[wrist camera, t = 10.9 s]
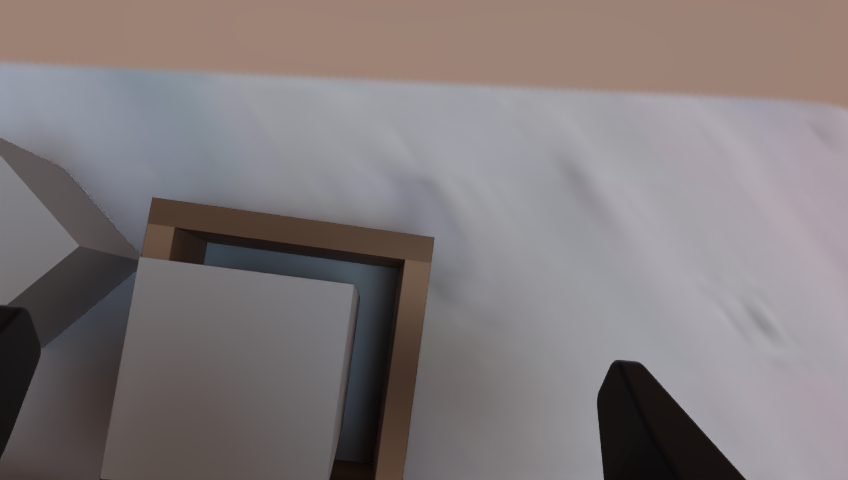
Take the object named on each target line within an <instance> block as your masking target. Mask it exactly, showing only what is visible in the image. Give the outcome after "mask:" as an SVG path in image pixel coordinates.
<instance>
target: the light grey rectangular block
mask: <svg viewBox="0 0 848 480" xmlns="http://www.w3.org/2000/svg"><path fill="white" fill-rule="evenodd" d="M359 301H360V296H359V294H358V292H357V290H356V288H355V286H354V285H353V284H345V283H338V282H330V281H322V280H315V279H307V278H299V277H291V276H284V275H276V274H268V273H260V272H253V271H245V270H237V269H230V268H222V267H214V266H206V265H199V264H191V263H183V262H175V261H168V260H160V259H152V258H144V257H139V262H138V268H137V273H136V279H135V284H134V290H133V295H132V301H131V306H130V312H129V318H128V323H127V329H126V334H125V340H124V345H123V351H122V356H121V362H120V368H119V373H118V379H117V384H116V390H115V395H114V401H113V406H112V412H111V418H110V423H109V429H108V434H107V440H106V445H105V451H104V456H103V462H102V468H101V473H100V479H109V480H329V478H330V474H331V470H332V466H333V462H334V458H335V453H336V449H337V445H338V441H339V437H340V433H341V429H342V424H343V418H344V411H345V404H346V396H347V389H348V382H349V374H350V367H351V360H352V353H353V345H354V338H355V331H356V323H357V316H358V309H359Z"/></svg>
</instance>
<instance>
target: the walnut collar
mask: <svg viewBox="0 0 848 480" xmlns="http://www.w3.org/2000/svg"><path fill="white" fill-rule="evenodd" d="M207 242H210V243H218V244H225V245H232V246H239V247H247V248H254V249H261V250H268V251H275V252H283V253H290V254H297V255H304V256H311V257H319V258H326V259H333V260H340V261H347V262H355V263H362V264H369V265H376V266H383V267H391V268H398V269H399V275H398V282H397V290H396V297H395V304H394V311H393V319H392V326H391V333H390V341H389V348H388V355H387V362H386V370H385V377H384V384H383V391H382V399H381V406H380V413H379V421H378V428H377V435H376V442H375V450H374V457H373V464H369V463H360V462H352V461H343V460H335V459H334V462H333V466H332V470H331V474H330V478H329V480H403V474H404V466H405V458H406V451H407V443H408V436H409V428H410V420H411V413H412V405H413V397H414V390H415V382H416V375H417V367H418V359H419V352H420V344H421V337H422V329H423V321H424V314H425V306H426V299H427V291H428V283H429V276H430V268H431V261H432V253H433V245H434V237H427V236H420V235H413V234H406V233H399V232H392V231H385V230H377V229H370V228H363V227H356V226H349V225H342V224H335V223H328V222H321V221H314V220H307V219H300V218H293V217H286V216H279V215H272V214H265V213H258V212H251V211H244V210H237V209H230V208H223V207H216V206H209V205H202V204H195V203H188V202H181V201H174V200H167V199H160V198H153V197H152V203H151V208H150V213H149V219H148V224H147V229H146V235H145V240H144V245H143V251H142V256H141V257H144V258H152V259H160V260H168V261H175V262H183V263H191V264H199V265H203V263H204V257H205V251H206V246H207ZM100 480H109V479H100Z"/></svg>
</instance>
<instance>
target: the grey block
mask: <svg viewBox="0 0 848 480" xmlns="http://www.w3.org/2000/svg"><path fill="white" fill-rule="evenodd" d="M139 257H141V256H140V255H139V253H138V252H137V251H136V250H135V249H134V248H133V247H132V245H131V244H130V243H129V242H128V241H127V240H126V239H125V238H124V236H123V235H122V234H121V233H120V232H119V231H118V230H117V228H116V227H115V226H114V225H113V224H112V223H111V222H110V220H109V219H108V218H107V217H106V216H105V215H104V214H103V212H102V211H101V210H100V209H99V208H98V207H97V206H96V205H95V203H94V202H93V201H92V200H91V199H90V198H89V197H88V195H87V194H86V193H85V192H84V191H83V190H82V189H81V187H80V186H79V185H78V184H77V183H76V182H75V181H74V179H73V178H72V177H71V176H70V175H69V174H68V173H67V171H66V170H65V169H63V168H61V167H59V166H57V165H55V164H53V163H51V162H49V161H47V160H45V159H43V158H41V157H39V156H37V155H35V154H32V153H30V152H28V151H26V150H24V149H22V148H20V147H18V146H16V145H14V144H12V143H10V142H8V141H6V140H4V139H2V138H0V305H11V306H22V307H25V308H26V309H27V310H28V311H29V313H30V315H31V318H32V321H33V323H34V326H35V329H36V332H37V335H38V338H39V341H40V344H41V348H44V347H45V346H46V345H47V344H48V343H50V342H51V341H52V340H53V339H54V338H56V337H57V336H58V335H59V334H60V333H62V332H63V331H64V330H65V329H67V328H68V327H69V326H70V325H71V324H73V323H74V322H75V321H76V320H77V319H79V318H80V317H81V316H82V315H83V314H85V313H86V312H87V311H88V310H89V309H91V308H92V307H93V306H94V305H95V304H97V303H98V302H99V301H100V300H102V299H103V298H104V297H105V296H106V295H108V294H109V293H110V292H111V291H112V290H114V289H115V288H116V287H117V286H118V285H120V284H121V283H122V282H123V281H124V280H126V279H127V278H128V277H129V276H130V275H132V274H133V273H134V272H135V271H136V270H137V268H138V262H139Z"/></svg>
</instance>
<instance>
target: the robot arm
mask: <svg viewBox="0 0 848 480" xmlns="http://www.w3.org/2000/svg"><path fill="white" fill-rule="evenodd" d="M40 354H41V344H40V341H39V338H38V335H37V332H36V329H35V326H34V323H33V321H32V318H31V315H30V313H29V311H28V310H27V309H26V308H25V307H22V306H11V305H0V458H1V456H2V454H3V452H4V450H5V447H6V445H7V442H8V440H9V438H10V435H11V432H12V430H13V427H14V425H15V422H16V419H17V417H18V414H19V411H20V409H21V406H22V403H23V401H24V398H25V396H26V393H27V390H28V388H29V385H30V382H31V380H32V377H33V374H34V372H35V369H36V367H37V364H38V361H39V358H40ZM597 410H598V421H599V431H600V442H601V453H602V463H603V474H604V480H746V479H745V478H744V477H743V476H742V475H741V473H740V472H739V471H738V470H737V469H736V468H735V467H734V466H733V465H732V463H731V462H730V461H729V460H728V459H727V458H726V457H725V456H724V455H723V453H722V452H721V451H720V450H719V449H718V448H717V447H716V446H715V445H714V443H713V442H712V441H711V440H710V439H709V438H708V437H707V436H706V434H705V433H704V432H703V431H702V430H701V429H700V428H699V427H698V426H697V424H696V423H695V422H694V421H693V420H692V419H691V418H690V417H689V416H688V414H687V413H686V412H685V411H684V410H683V409H682V408H681V407H680V406H679V404H678V403H677V402H676V401H675V400H674V399H673V398H672V397H671V395H670V394H669V393H668V392H667V391H666V390H665V389H664V388H663V387H662V385H661V384H660V383H659V382H658V381H657V380H656V379H655V378H654V377H653V375H652V374H651V373H650V372H649V371H648V370H647V369H646V368H645V367H644V366H643V365H642V364H641V363H639V362H636V361H625V360H615V361H614V362H613V363H612V364H611V366H610V368H609V370H608V372H607V375H606V377H605V379H604V381H603V383H602V386H601V388H600V390H599V393H598V398H597Z"/></svg>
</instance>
